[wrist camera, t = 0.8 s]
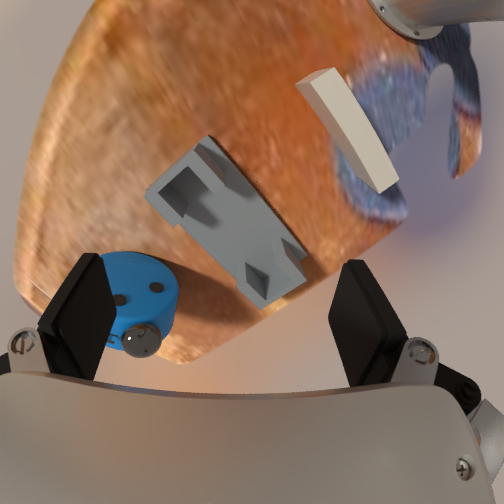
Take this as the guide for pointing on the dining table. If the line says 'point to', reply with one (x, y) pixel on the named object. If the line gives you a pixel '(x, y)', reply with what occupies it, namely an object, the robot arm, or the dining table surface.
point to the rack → (230, 222)
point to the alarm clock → (140, 302)
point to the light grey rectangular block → (348, 127)
